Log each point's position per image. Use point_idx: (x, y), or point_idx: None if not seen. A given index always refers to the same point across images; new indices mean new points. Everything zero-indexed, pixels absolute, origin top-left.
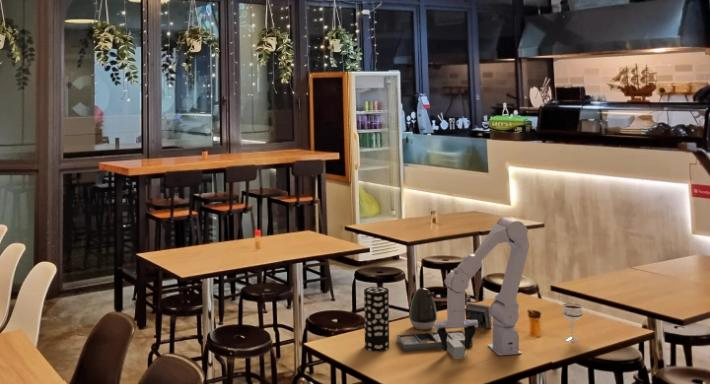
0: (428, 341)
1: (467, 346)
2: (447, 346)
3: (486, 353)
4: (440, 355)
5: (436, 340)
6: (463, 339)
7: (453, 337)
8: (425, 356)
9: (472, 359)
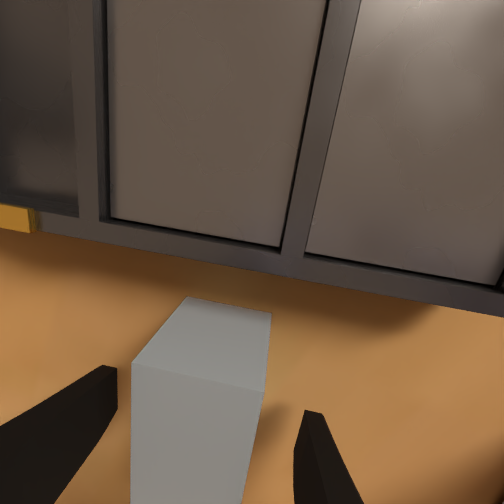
0: (58, 39)
1: (294, 491)
2: (169, 317)
3: (445, 447)
4: (108, 344)
5: (79, 177)
6: (437, 230)
7: (360, 104)
8: (7, 319)
9: (281, 474)
